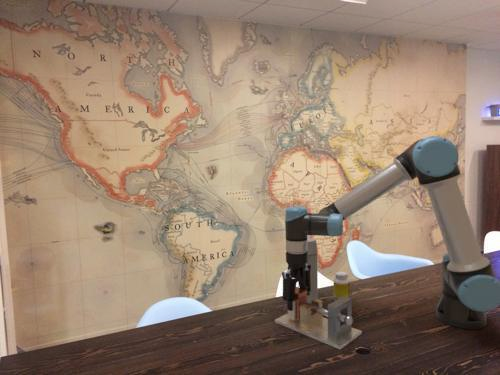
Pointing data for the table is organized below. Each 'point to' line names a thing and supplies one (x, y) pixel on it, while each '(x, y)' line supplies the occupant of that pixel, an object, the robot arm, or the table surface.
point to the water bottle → (312, 269)
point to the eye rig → (324, 323)
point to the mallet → (313, 306)
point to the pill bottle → (341, 285)
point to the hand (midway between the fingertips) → (297, 315)
